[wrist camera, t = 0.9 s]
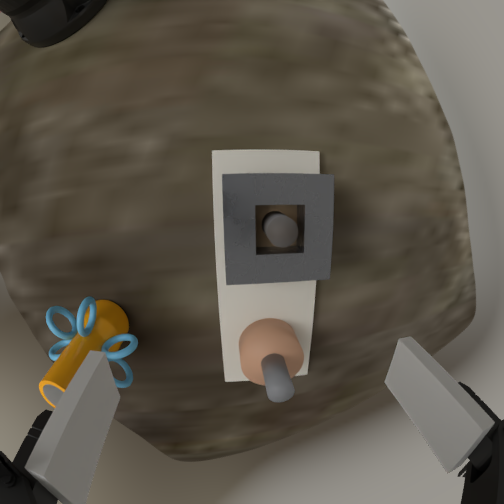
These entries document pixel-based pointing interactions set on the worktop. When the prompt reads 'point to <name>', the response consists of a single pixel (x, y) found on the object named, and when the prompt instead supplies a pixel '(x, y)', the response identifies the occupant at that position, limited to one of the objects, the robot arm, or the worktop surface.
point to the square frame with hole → (276, 258)
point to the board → (267, 294)
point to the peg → (271, 356)
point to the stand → (276, 225)
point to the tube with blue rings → (86, 344)
